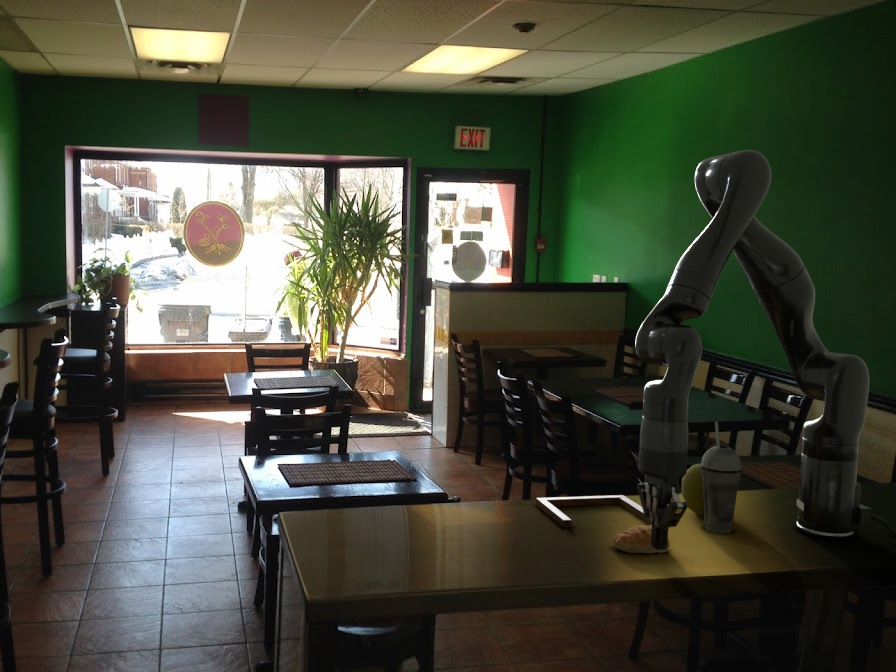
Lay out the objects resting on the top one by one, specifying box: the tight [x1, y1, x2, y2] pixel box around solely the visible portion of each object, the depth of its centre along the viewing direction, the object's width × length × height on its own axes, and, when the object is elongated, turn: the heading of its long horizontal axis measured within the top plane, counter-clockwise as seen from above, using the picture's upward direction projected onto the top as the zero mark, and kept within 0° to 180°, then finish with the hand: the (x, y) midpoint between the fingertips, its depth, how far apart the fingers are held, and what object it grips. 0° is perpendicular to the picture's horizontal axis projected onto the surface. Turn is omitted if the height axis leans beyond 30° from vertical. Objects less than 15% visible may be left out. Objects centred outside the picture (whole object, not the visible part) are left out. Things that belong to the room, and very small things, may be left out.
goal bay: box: [535, 494, 651, 528], centre depth 172 cm, size 19×15×1 cm
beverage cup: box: [700, 421, 743, 534], centre depth 164 cm, size 7×7×20 cm
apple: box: [681, 463, 704, 517], centre depth 173 cm, size 10×10×11 cm
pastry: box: [611, 524, 671, 554], centre depth 153 cm, size 9×7×4 cm
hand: (658, 548), depth 148 cm, fingers closed
